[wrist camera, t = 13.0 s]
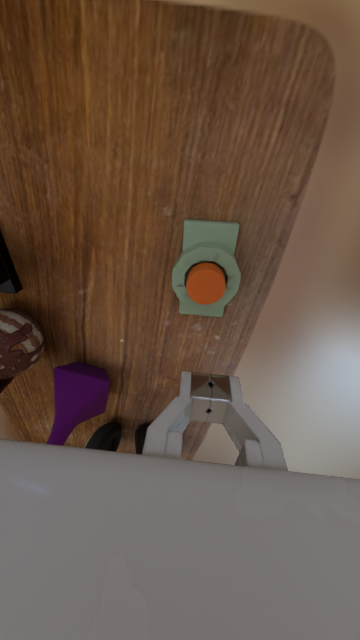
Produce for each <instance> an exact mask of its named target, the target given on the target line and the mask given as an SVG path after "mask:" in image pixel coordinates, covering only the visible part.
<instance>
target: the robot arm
mask: <svg viewBox="0 0 360 640" xmlns="http://www.w3.org/2000/svg"><path fill="white" fill-rule="evenodd" d="M190 421H202V422H211V423H219V424H223V425H224V427H225V429H226V431H227V432H228V434H229V436H230V437H231V439H232V441H233V442H234V444H235V446H236V447H237V449H238V451H239V452H240V453H239V456H238V458H237V461H236V463H235V465H228V464H220V463H211V462H202V461H193V460H184V459H181V452H182V436H183V435H182V433H183V431H184V430H185V428H186V427H187V425H188V424H189V423H190ZM0 640H360V479H353V478H343V477H335V476H326V475H317V474H308V473H299V472H290V471H288V469H287V466H286V462H285V459H284V455H283V451H282V448H281V444H280V442H279V441H278V439H277V438H276V437H275V436H274V435H273V434H272V433H271V431H270V430H269V429H268V428H267V427H266V426H265V424H264V423H263V422H262V421H261V420H260V419H259V418H258V416H257V415H256V414H255V413H254V412H253V411H252V410H251V409H250V407H249V406H248V405H247V404H244V403H243V397H242V392H241V386H240V380H239V377H235V376H225V375H213V374H202V373H194V372H185V371H182V373H181V383H180V392H179V397H177V396H176V397H175V398H174V399H173V401H172V402H171V403H170V404H169V405H168V406H167V407H166V408H165V409H164V410H163V411H162V413H161V414H160V415H159V416H158V417H157V418H156V419H155V420H154V421H153V422H152V423H151V424H150V426H149V427H148V428H147V433H146V438H145V442H144V447H143V452H142V455H140V454H132V453H123V452H114V451H105V450H96V449H87V448H79V447H70V446H61V445H52V444H44V443H35V442H26V441H18V440H9V439H0Z"/></svg>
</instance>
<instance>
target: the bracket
mask: <svg viewBox="0 0 360 640" xmlns="http://www.w3.org/2000/svg"><path fill="white" fill-rule="evenodd" d="M20 290H22V286H21V283H20V281H19V278H18V276H17V273H16V270H15V268H14V265H13V262H12V260H11V257H10V255H9V252H8V249H7V247H6V244H5V241H4V239H3V236H2V234H1V231H0V292H4V293H17V292H19V291H20Z"/></svg>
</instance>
